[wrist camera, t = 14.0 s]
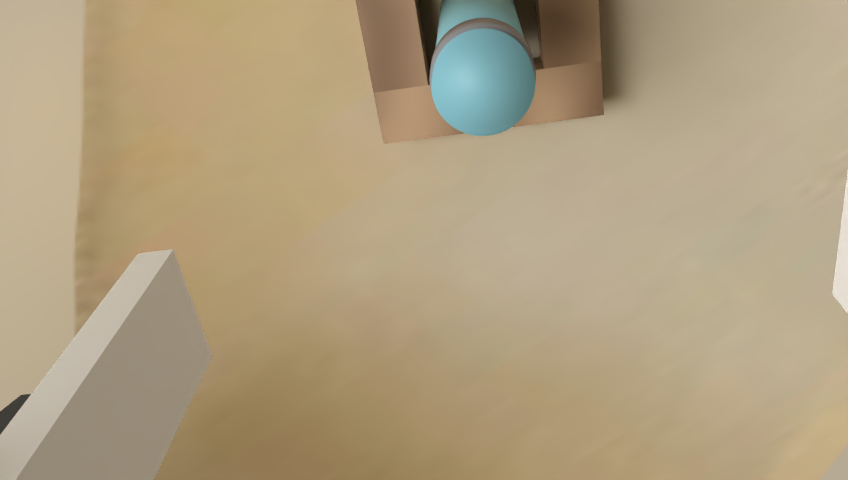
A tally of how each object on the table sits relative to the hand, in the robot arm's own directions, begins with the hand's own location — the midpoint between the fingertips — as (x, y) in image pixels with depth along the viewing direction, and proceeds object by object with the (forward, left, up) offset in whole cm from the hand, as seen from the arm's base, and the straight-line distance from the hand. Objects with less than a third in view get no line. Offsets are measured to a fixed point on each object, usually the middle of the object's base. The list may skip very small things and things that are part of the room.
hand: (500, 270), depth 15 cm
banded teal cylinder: (0, 0, -24) cm, 25 cm away
